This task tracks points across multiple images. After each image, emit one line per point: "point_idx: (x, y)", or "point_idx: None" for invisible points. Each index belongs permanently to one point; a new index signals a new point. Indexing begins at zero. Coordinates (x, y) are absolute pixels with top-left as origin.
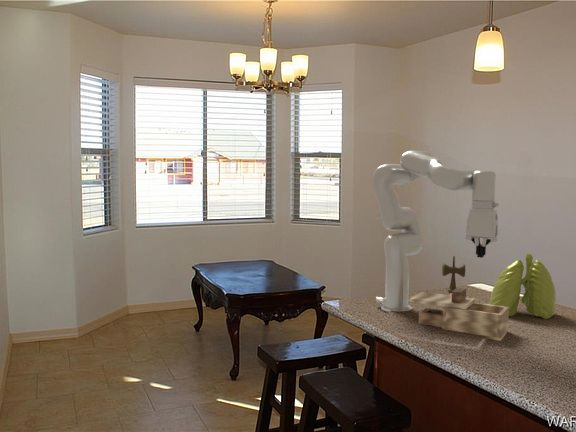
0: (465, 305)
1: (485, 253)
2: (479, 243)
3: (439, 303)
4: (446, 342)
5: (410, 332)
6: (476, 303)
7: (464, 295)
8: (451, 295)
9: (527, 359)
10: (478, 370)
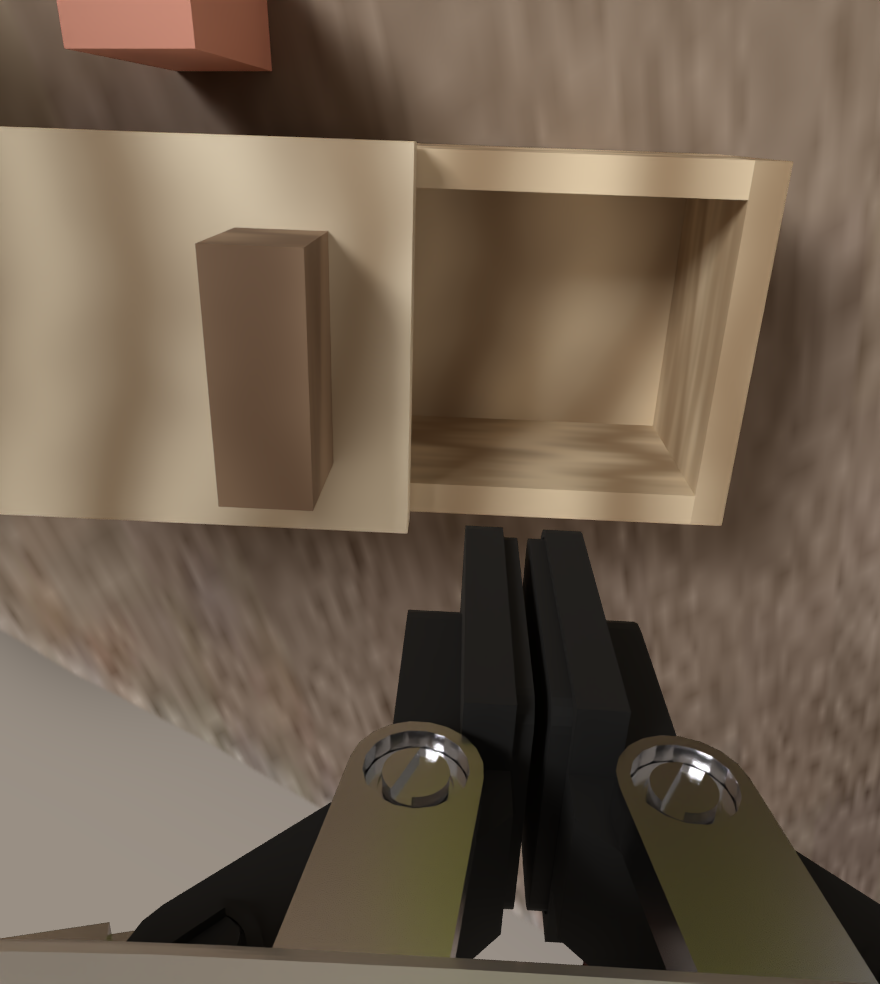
0: (400, 518)
1: (638, 634)
2: (477, 906)
3: (164, 516)
4: (363, 630)
5: (98, 546)
6: (443, 182)
7: (320, 307)
8: (106, 42)
9: (825, 701)
10: None
